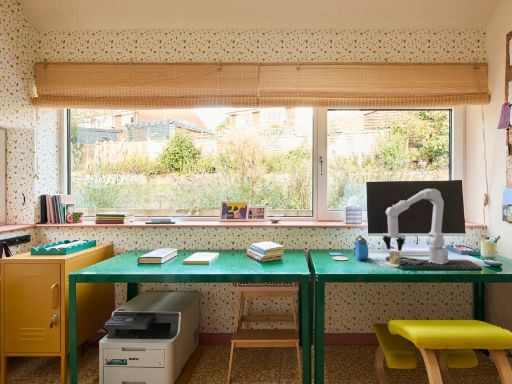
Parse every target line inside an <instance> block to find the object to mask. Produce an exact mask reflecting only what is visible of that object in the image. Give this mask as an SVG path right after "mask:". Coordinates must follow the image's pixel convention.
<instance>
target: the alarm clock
mask: <svg viewBox="0 0 512 384" xmlns="http://www.w3.org/2000/svg"><path fill="white" fill-rule="evenodd" d="M354 253H355V258H356V260H358V261H368V258H369V246H368V242H367V239H365V238H364V237H363V236H361V235H358V236H356V237H355V241H354Z"/></svg>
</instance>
